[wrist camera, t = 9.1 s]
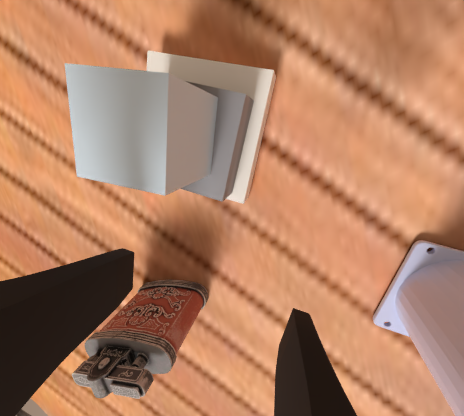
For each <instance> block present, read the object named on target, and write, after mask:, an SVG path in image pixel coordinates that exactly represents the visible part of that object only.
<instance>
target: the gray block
mask: <svg viewBox="0 0 464 416" xmlns="http://www.w3.org/2000/svg"><path fill="white" fill-rule="evenodd" d="M65 71H66V80H67V89H68V98H69V108H70V117H71V126H72V135H73V144H74V153H75V162H76V172H77V176H78V177H82V178H87V179H91V180H96V181H101V182H105V183H110V184H114V185H119V186H124V187H128V188H133V189H138V190H142V191H147V192H151V193H156V194H161V195H167V194H169V193H172V192H174V191H176V190H178V189H180V188H182V187H184V186H187V185H189V184H191V183H193V182H195V181H197V180H199V179H202V178H204V177H206V176H208V175H210V174H211V164H212V154H213V144H214V134H215V124H216V113H217V103H218V97H216V96H214V95H212V94H210V93H208V92H206V91H204V90H202V89H200V88H198V87H196V86H194V85H192V84H190V83H188V82H186V81H184V80H182V79H180V78H178V77H176V76H174V75H172V74H170V73H163V72H152V71H141V70H131V69H120V68H109V67H99V66H88V65H78V64H67V63H65Z"/></svg>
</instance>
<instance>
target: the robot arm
mask: <svg viewBox="0 0 464 416" xmlns="http://www.w3.org/2000/svg"><path fill="white" fill-rule="evenodd" d="M428 248H432V250H431V251H429V252H427V249H428ZM133 267H134V252H132V251H129V250H126V249H123V248H122V249H118V250H114V251H110V252H107V253H104V254H100V255H97V256H94V257H91V258H87V259H84V260H81V261H77V262H74V263H71V264H67V265H64V266H60V267H57V268H53V269H49V270H46V271H42V272H38V273H35V274H31V275H27V276H23V277H18V278H14V279H9V280H5V281H0V416H15V415H16V414H17V413H18V412H19V411H20V410H21V408H22V407H23V406H24V404H26V402H27V401H28V400H29V399H30V398H31V396H32V395H33V394H34V393H35V392H36V391H37V389H38V388H39V387H40V386H41V385H42V384H43V383H44V381H45V380H46V379H47V378H48V377H49V376H50V375H51V374H52V372H53V371H54V370H55V369H56V368H57V367H58V366H59V365H60V363H61V362H62V361H63V360H64V359H65V358H66V357H67V356H68V355H69V354H70V353H71V352H72V351H73V350H74V349H75V348H76V347H77V346H78V345H79V344H80V343H81V342H83V341H84V340H85V339H86V338H87V337H88V336H89V335H90V334H91V333H92V332H93V331H94V330H95V329H96V328H97V327H98V326H99V325H100V324H101V323H102V322H103V321H104V320H105V319H106V318H107V317H108V316H109V315H110V314H111V313H112V312H113V311H114V310H115V309H116V308H117V307H118V306H119V305H120V303H121V302H122V301H123V300H124V299H125V297H126V296H127V295H128V294H129V292H130V291H131V290H132V288H133ZM373 321H374V323H375V324H376V325H377V326H380V327H383V328H386V329H388V330H391V331H394V332H397V333H400V334H403V335H406V336H409V337H410V338H411V339H412V341H413V343H414V345H415V346H416V348H417V350H418V352H419V353H420V355H421V357H422V359H423V360H424V362H425V364H426V366H427V367H428V369H429V371H430V372H431V374H432V376H433V378H434V379H435V381H436V383H437V385H438V386H439V388H440V390H441V392H442V393H443V395H444V397H445V399H446V400H447V402H448V404H449V406H450V407H451V409H452V411H453V413H454V414H455V416H464V251H462V250H458V249H454V248H450V247H447V246H443V245H439V244H435V243H432V242H428V241H424V240H419V241H416V242H415V243H414V244H413V245H412V247H411V249H410V251H409V253H408V254H407V256H406V258H405V260H404V262H403V263H402V265H401V267H400V269H399V271H398V272H397V274H396V276H395V278H394V280H393V281H392V283H391V285H390V287H389V289H388V291H387V292H386V294H385V296H384V298H383V300H382V301H381V303H380V305H379V307H378V309H377V310H376V312H375V314H374V316H373ZM384 322H388V323H384ZM274 416H357V415H356V413H355V411H354V409H353V407H352V405H351V403H350V402H349V400H348V398H347V396H346V394H345V392H344V390H343V388H342V386H341V384H340V382H339V380H338V378H337V376H336V374H335V372H334V370H333V367H332V365H331V363H330V361H329V359H328V357H327V354H326V352H325V350H324V348H323V345H322V343H321V341H320V338H319V336H318V334H317V331H316V329H315V326H314V324H313V321H312V319H311V317H310V315H309V314H308V313H306V312H303V311H300V310H297V309H294V308H293V310H292V313H291V315H290V318H289V321H288V323H287V326H286V328H285V331H284V334H283V336H282V339H281V342H280V344H279V350H278V358H277V365H276V375H275V407H274Z"/></svg>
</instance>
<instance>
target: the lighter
mask: <svg viewBox="0 0 464 416" xmlns="http://www.w3.org/2000/svg"><path fill="white" fill-rule="evenodd" d="M207 301H208V292H207V290H206V289H205V287H204V286H203V285H201V284H199V283H195V282H190V281H184V280H159V281H153V282H149V283H145V284H144V285H143V286H142V287H141V288H140V289H139V290H138V293H137V294H136V295H135V296H134V297H133V298H132V299H131V300H130V301H129V302H128V303H127V304H126V305H125V306H124V307H123V308H122V309H121V310H120V311H119V312H118V313H117V314H116V315H115V316H114V317H113V318H112V319H111V320H110V321H109V322H108V323H107V324H106V325H105V326H104V327H103V328H102V329H101V330H100V331H99V332H96V333H94V334H93V335H92V336H91V337H90V338H89V339H88V340H87V341H86V343H85V349H86V352H87V354H88V355H89V359H88V360H87V361H84V362H83V363H82V364H81V365H80V366H79V367H78V368H77V369H76V370H75V371H74V372H73V374H72V377H73V379H74V381H75V383H76V384H78V385H80V386H85V387H90V388H91V389H92V391H93V393H94V395H95V397H96V398H104V397H106V396H107V395H108V394H110V393H111V392H113V393H114V394H116V395H121V396H126V397H132V398H137V399H139V398H140V397H143V396H145V394H146V392H147V391H148V389H149V387H150V385H151V384H152V382H153V380H154V379H153V376H152V374H165V373H168V372H169V371H170V370H171V368H172V366H173V365H174V363H175V361H176V357H177V356H176V354H177V352H178V350H179V348H180V347H181V345H182V343H183V341H184V339H185V337H186V336H187V334H188V332H189V330H190V328H191V326H192V324H193V323H194V321H195V319H196V317H197V315H198V313H199V312H200V310H201V309H203V307H204V306H205V304H206V303H207Z"/></svg>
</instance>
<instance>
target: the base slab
mask: <svg viewBox="0 0 464 416" xmlns="http://www.w3.org/2000/svg"><path fill="white" fill-rule="evenodd" d="M147 71H152V72H163V73H170V74H172V75H174V76H176V77H178V78H180V79H182V80H184V81H187V82H192V83H197V84H201V85H206V86H211V87H215V88H220V89H225V90H229V91H234V92H238V93H243V94H246V95H248V96H249V97H250V98H251V99H253V100H254V103H253V107H252V111H251V115H250V120H249V124H248V128H247V132H246V137H245V141H244V145H243V150H242V154H241V158H240V162H239V167H238V171H237V175H236V179H235V183H234V188H233V192H232V193H231V194H230V195H229V196H228V197H227V198H226V199H228V200H232V201H236V202H239V203H243V204H244V203H245V201H246V200H247V199H248V197H249V193H250V188H251V184H252V180H253V175H254V171H255V167H256V162H257V158H258V154H259V150H260V145H261V141H262V137H263V132H264V128H265V124H266V119H267V115H268V111H269V106H270V102H271V98H272V93H273V89H274V85H275V80H276V75H275V72H274V70H270V69H264V68H257V67H251V66H244V65H238V64H232V63H225V62H219V61H212V60H206V59H199V58H193V57H186V56H180V55H173V54H167V53H160V52H154V51H148V55H147Z"/></svg>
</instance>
